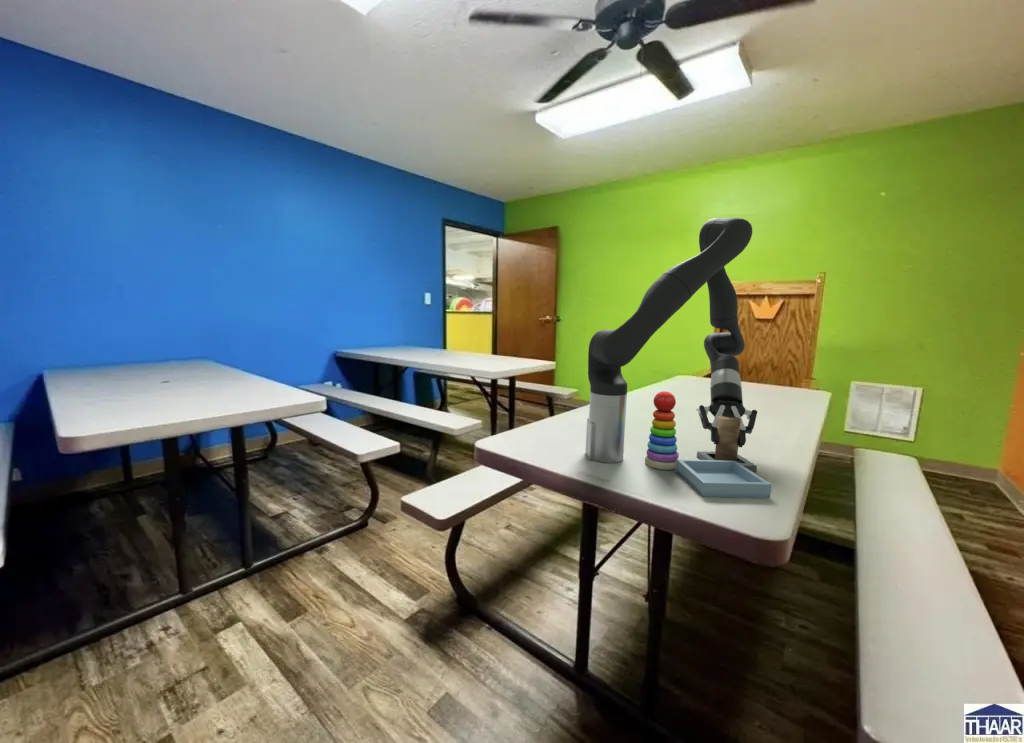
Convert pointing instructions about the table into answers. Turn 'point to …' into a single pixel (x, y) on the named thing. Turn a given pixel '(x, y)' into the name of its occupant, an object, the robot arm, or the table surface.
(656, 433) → the stacking toy
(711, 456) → the socket plate
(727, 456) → the walnut peg
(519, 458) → the table surface
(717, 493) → the tray
